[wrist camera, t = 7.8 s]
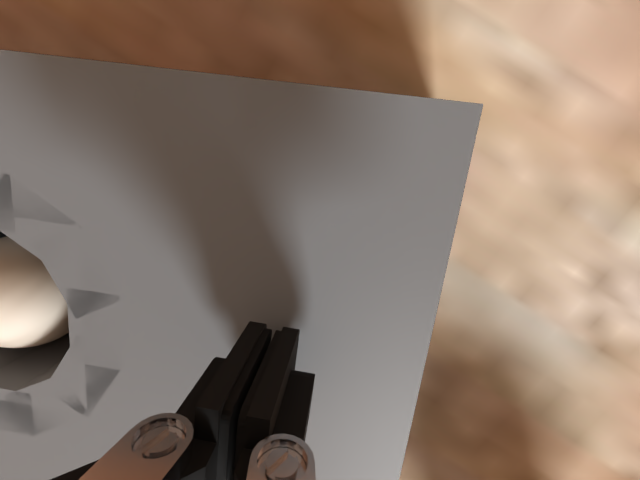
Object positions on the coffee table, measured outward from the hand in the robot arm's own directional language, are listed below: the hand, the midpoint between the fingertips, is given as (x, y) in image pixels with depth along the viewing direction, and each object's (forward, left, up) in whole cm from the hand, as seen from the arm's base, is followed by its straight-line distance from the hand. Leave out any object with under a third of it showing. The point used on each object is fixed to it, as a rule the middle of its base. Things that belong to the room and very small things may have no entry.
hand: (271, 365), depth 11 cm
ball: (0, -12, -3) cm, 12 cm away
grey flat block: (0, -6, -6) cm, 8 cm away
